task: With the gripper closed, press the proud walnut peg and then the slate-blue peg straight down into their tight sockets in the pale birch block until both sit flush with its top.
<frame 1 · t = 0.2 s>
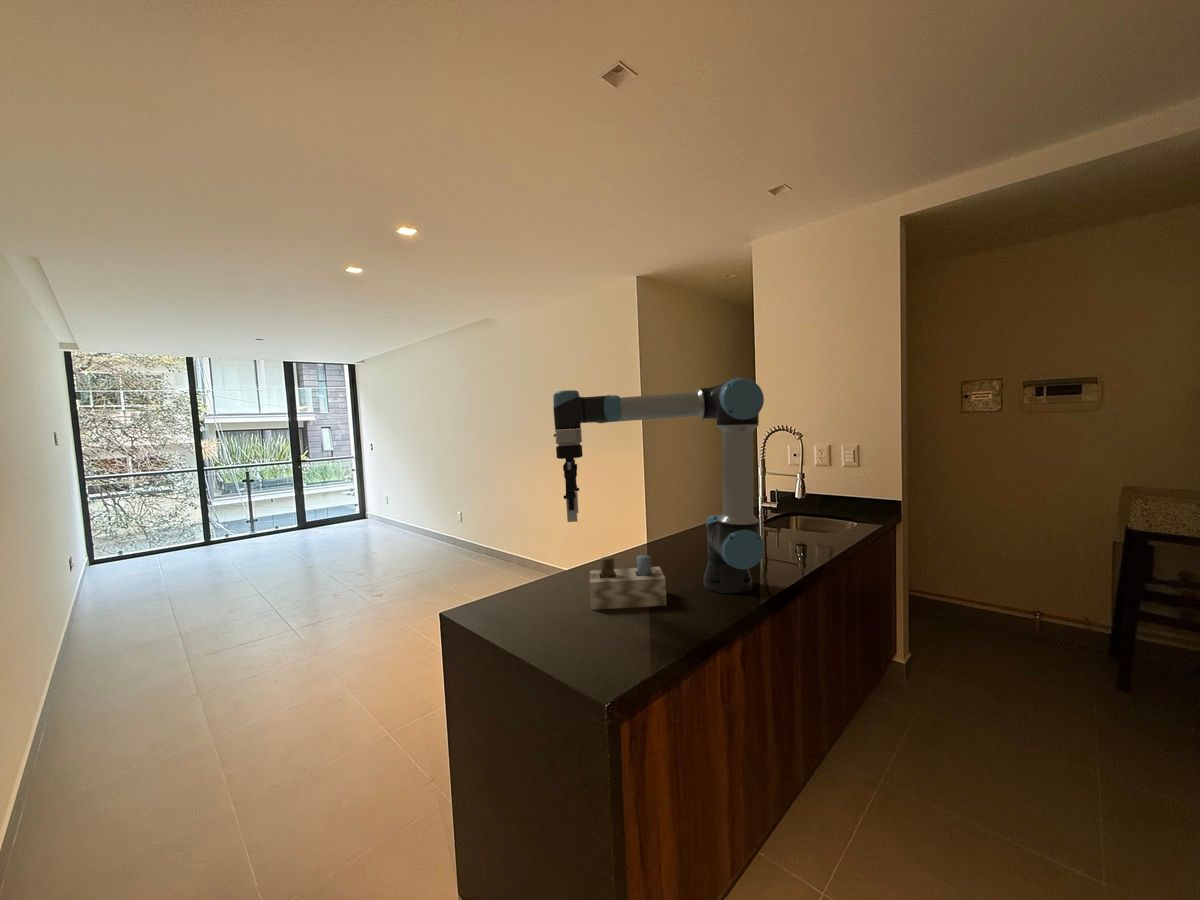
hand: (573, 517, 138), 27 cm above the table, fingers open, 13 cm apart
birch block: (627, 600, 144), on the table
walnut peg: (607, 571, 144), point 9 cm above the table, slide at 5.0 cm
blue peg: (644, 569, 144), point 9 cm above the table, slide at 5.0 cm
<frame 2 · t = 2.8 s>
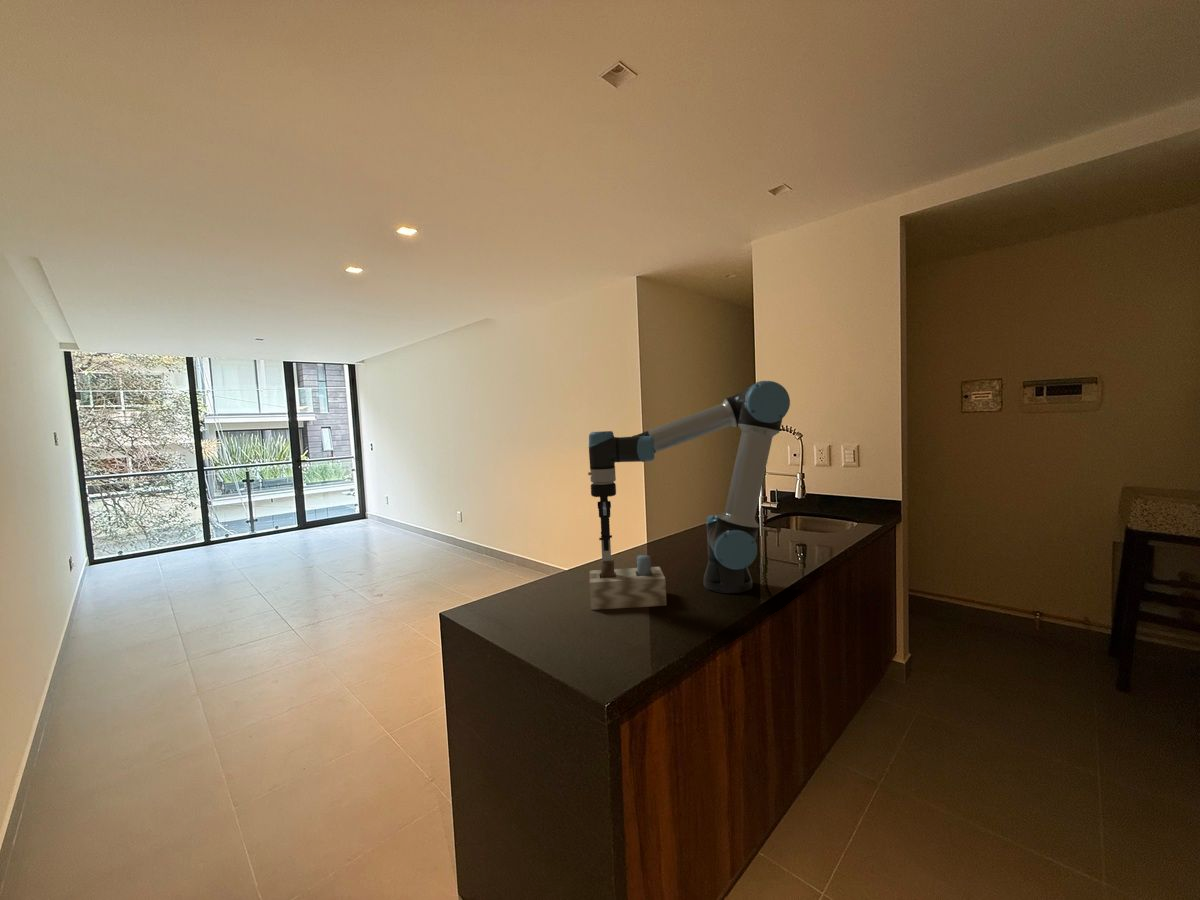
hand: (606, 560, 143), 13 cm above the table, fingers closed
walnut peg: (607, 574, 144), point 8 cm above the table, slide at 4.1 cm, touching gripper
everything else where it was.
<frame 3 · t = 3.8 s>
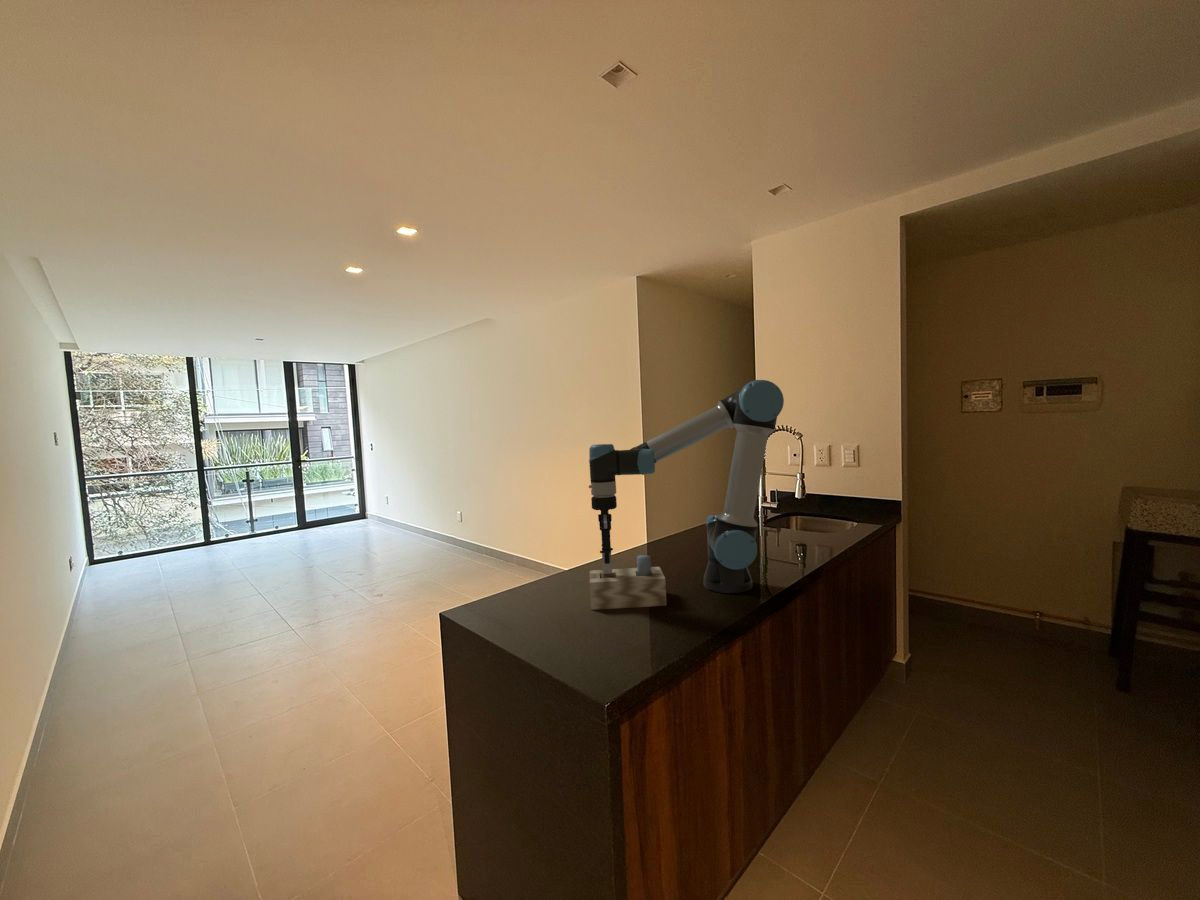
hand: (607, 573, 144), 9 cm above the table, fingers closed
walnut peg: (608, 587, 144), point 4 cm above the table, slide at 0.3 cm, touching gripper
everything else where it was.
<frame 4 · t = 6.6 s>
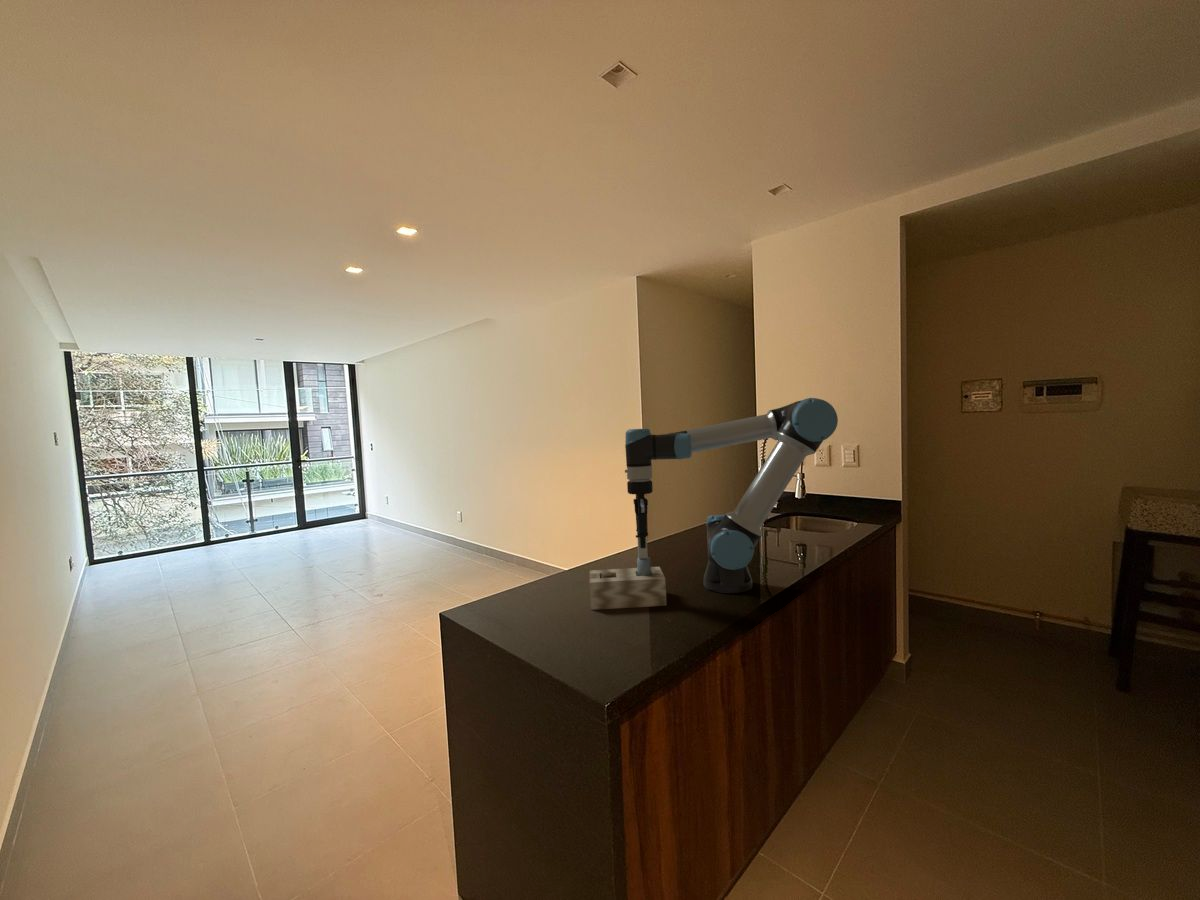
hand: (643, 557, 144), 13 cm above the table, fingers closed
walnut peg: (608, 587, 144), point 4 cm above the table, slide at 0.2 cm
blue peg: (644, 571, 144), point 8 cm above the table, slide at 4.5 cm, touching gripper
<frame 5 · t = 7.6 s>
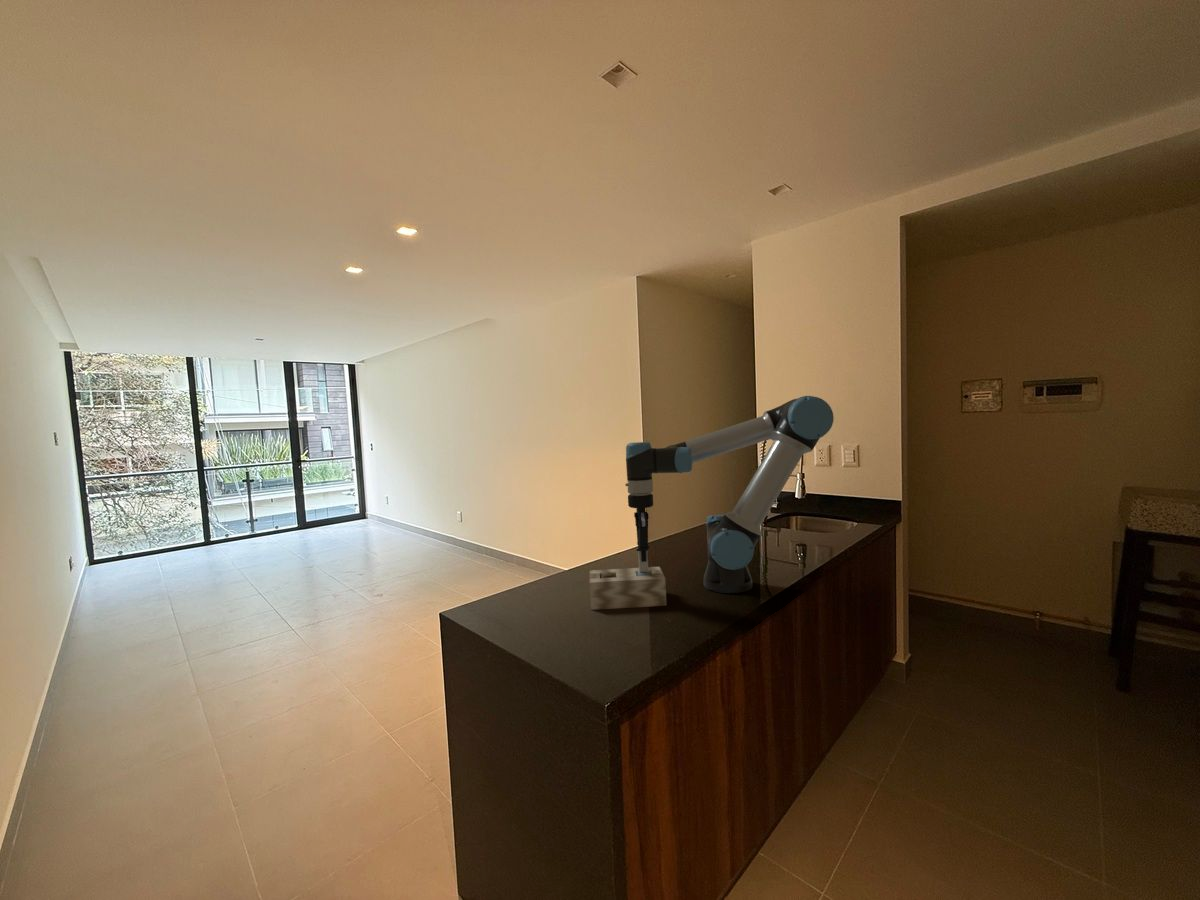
hand: (643, 571, 144), 9 cm above the table, fingers closed
blue peg: (644, 584, 144), point 4 cm above the table, slide at 0.4 cm, touching gripper
everything else where it was.
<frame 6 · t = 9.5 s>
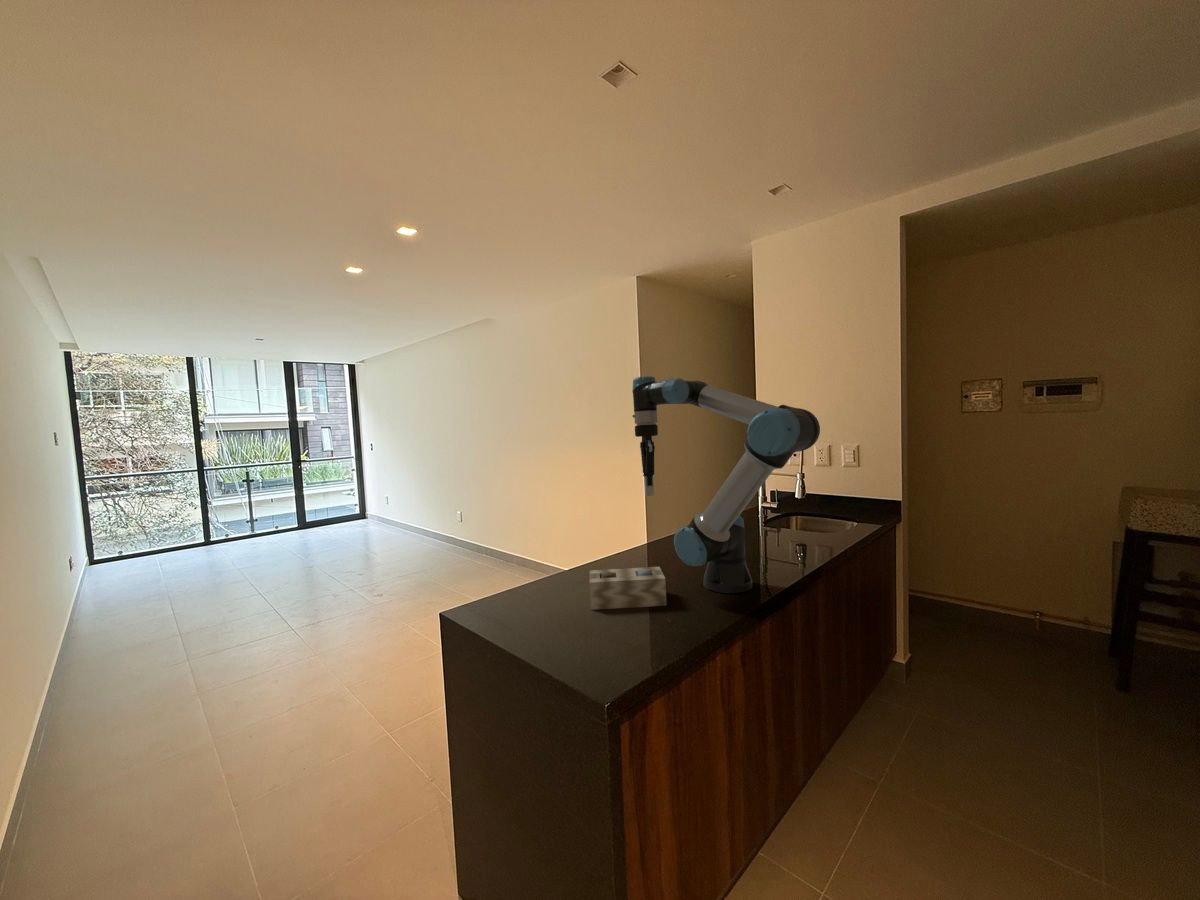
hand: (649, 495, 158), 29 cm above the table, fingers closed
blue peg: (644, 585, 144), point 4 cm above the table, slide at 0.4 cm
everything else where it was.
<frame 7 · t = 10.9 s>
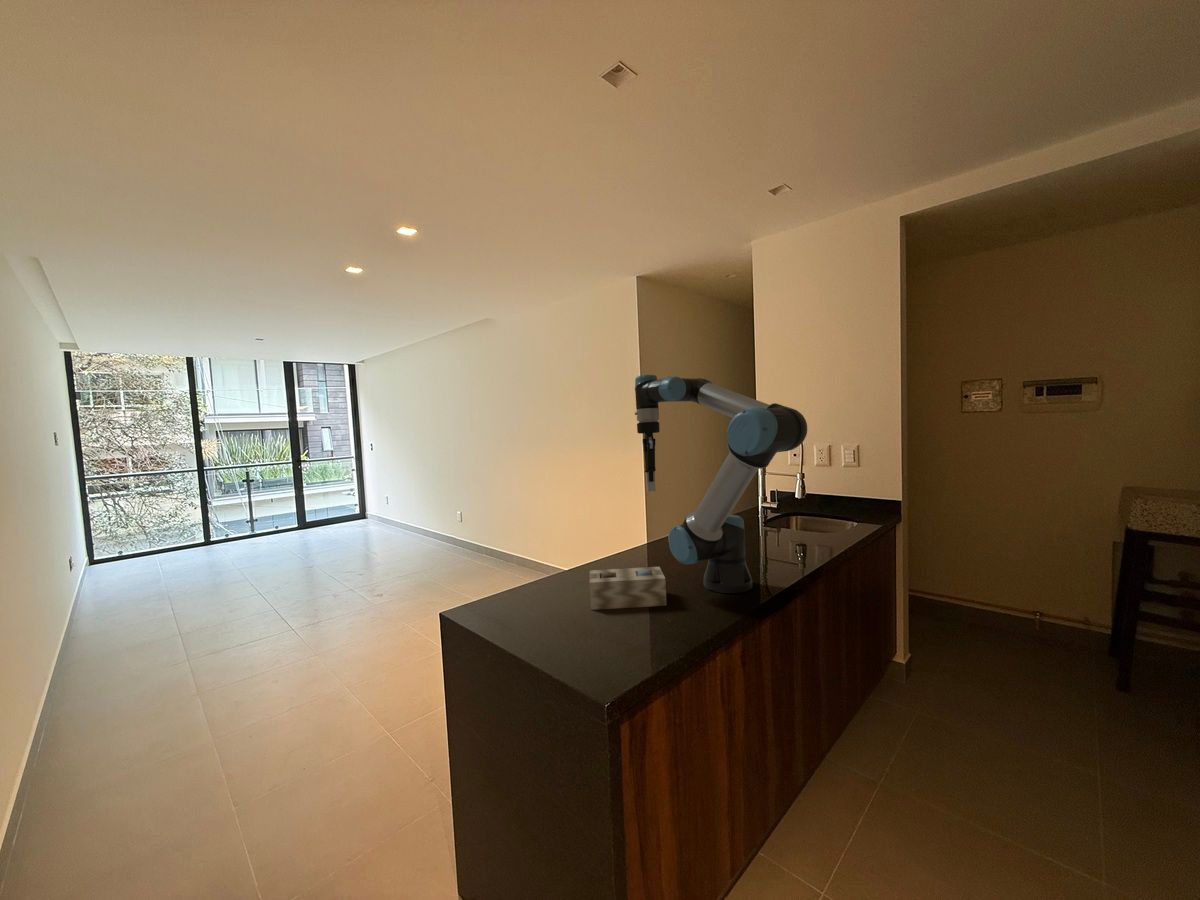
hand: (651, 490, 161), 30 cm above the table, fingers closed
nothing on the table moved.
at the end: walnut peg slide at 0.2 cm; blue peg slide at 0.4 cm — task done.
